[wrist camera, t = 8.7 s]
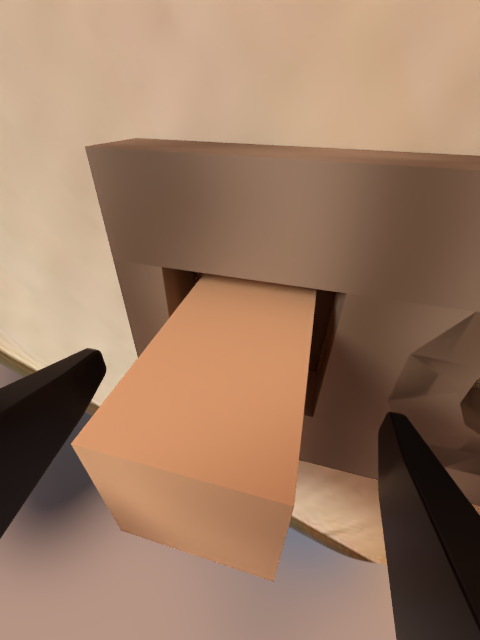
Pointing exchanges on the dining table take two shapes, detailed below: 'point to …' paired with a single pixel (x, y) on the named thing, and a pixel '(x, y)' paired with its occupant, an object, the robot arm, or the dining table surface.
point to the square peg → (210, 425)
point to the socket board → (321, 273)
